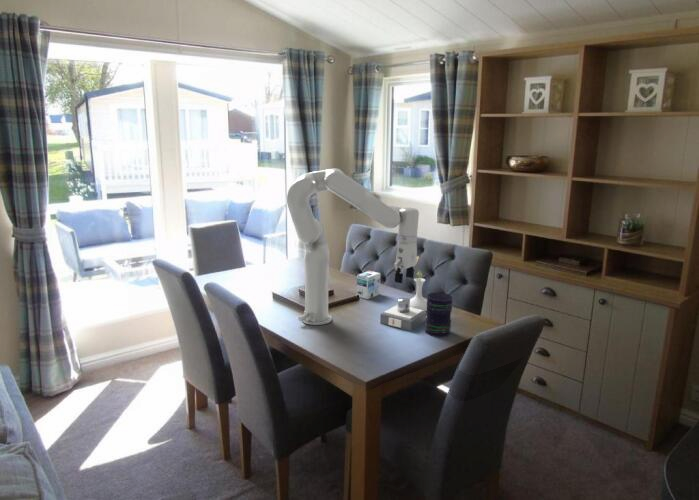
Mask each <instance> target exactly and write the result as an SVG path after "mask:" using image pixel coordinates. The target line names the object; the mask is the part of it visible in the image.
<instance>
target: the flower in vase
mask: <svg viewBox="0 0 699 500" xmlns="http://www.w3.org/2000/svg"><path fill="white" fill-rule="evenodd" d="M419 260H420V256H418V255H417V261H416V264H415V267H416V269H417V272H416V275H417V277H416V278H413V280H414V282H415V285H416V292H415V293H416V294H415V296H413V297H412V298H409V299H410V307H412V308H416V309H421V310H423V311H425V312H427V299H425V298H424V297H423V294H422V293H423V292H422V291H423V290H422V289H423V286H424V285H423V284H424V283H425V282H426V279H425V278H422V277H423V272H422V271H421V270H420V269H419V267H418V262H419Z"/></svg>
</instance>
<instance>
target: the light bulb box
mask: <svg viewBox="0 0 699 500" xmlns="http://www.w3.org/2000/svg"><path fill="white" fill-rule="evenodd" d="M356 276H357V277H356V296H357V295H359V297H358V298H361V299H364V300H365V299H366V300H369V299H372V298H374V297H377V296H379V295H380V294H381V291H380V290H381V272H376V271H372V270H367V271H365V272H362V273H358V274H357V275H356Z"/></svg>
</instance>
